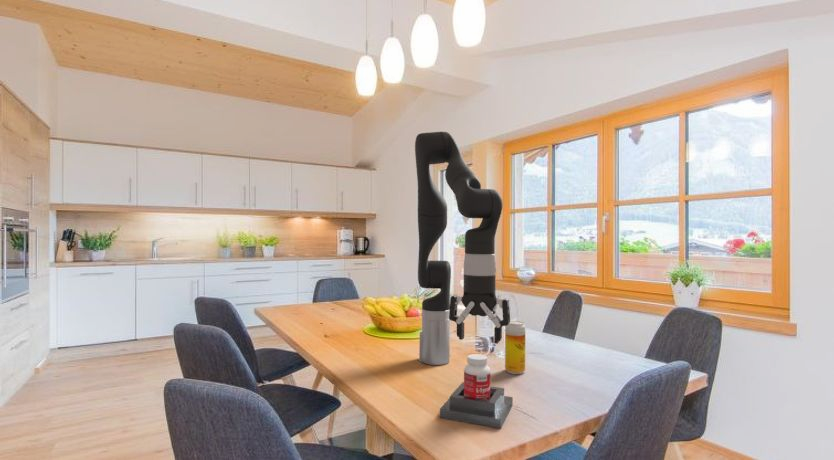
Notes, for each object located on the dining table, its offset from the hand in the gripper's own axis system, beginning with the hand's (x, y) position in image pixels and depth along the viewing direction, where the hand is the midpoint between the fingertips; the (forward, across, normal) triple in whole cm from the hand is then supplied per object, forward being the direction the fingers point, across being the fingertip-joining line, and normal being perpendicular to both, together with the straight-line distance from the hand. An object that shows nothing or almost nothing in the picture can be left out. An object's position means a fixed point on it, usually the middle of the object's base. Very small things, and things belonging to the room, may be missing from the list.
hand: (479, 340), depth 102 cm
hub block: (+17, 0, 0) cm, 17 cm away
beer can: (+17, +3, +34) cm, 38 cm away
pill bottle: (+15, 0, -1) cm, 15 cm away
